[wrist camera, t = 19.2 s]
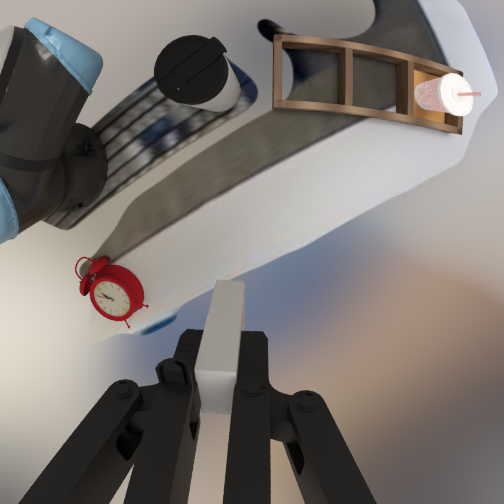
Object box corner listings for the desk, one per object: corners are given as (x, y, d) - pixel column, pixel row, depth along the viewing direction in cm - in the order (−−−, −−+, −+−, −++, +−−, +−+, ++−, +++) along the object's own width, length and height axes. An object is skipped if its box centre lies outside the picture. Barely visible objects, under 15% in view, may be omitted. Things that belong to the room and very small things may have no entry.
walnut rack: (272, 108, 39) (273, 107, 36) (273, 41, 35) (274, 34, 31) (450, 133, 39) (463, 135, 35) (451, 74, 34) (464, 72, 31)
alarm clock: (126, 335, 53) (59, 296, 46) (131, 313, 58) (69, 275, 51) (153, 304, 49) (78, 259, 42) (157, 282, 54) (90, 239, 48)
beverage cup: (424, 121, 38) (478, 127, 26) (403, 90, 37) (453, 83, 24) (447, 102, 37) (501, 104, 24) (426, 71, 35) (479, 62, 22)
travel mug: (251, 94, 39) (244, 69, 20) (214, 120, 40) (177, 118, 22) (225, 62, 37) (199, 17, 18) (189, 88, 38) (135, 66, 20)
